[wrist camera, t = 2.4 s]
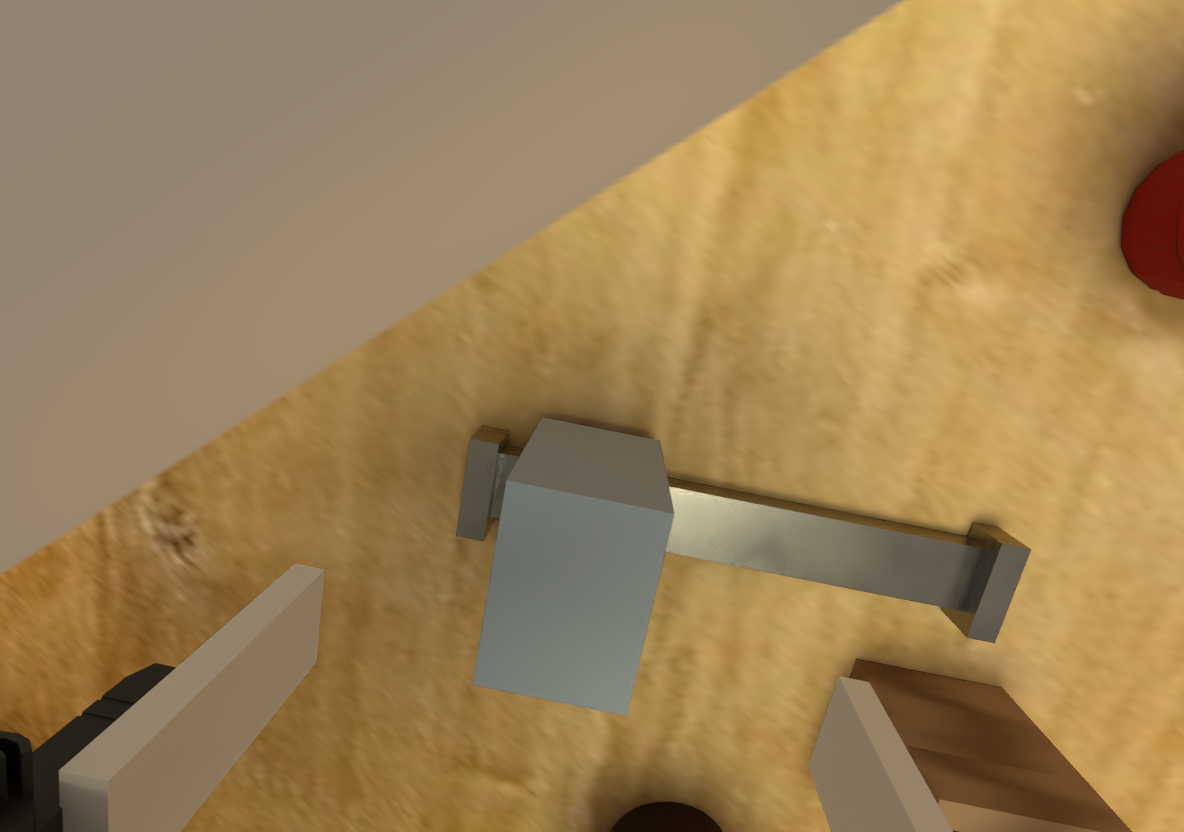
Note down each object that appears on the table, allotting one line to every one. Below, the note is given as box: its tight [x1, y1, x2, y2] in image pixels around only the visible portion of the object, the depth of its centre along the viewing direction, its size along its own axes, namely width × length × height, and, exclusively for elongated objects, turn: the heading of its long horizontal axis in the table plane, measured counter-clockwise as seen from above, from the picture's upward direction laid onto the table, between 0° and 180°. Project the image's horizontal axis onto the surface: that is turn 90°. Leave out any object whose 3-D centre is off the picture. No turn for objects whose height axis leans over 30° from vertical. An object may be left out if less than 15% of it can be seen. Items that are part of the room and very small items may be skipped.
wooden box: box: [850, 659, 1132, 832], centre depth 26 cm, size 7×7×8 cm
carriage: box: [473, 417, 675, 716], centre depth 23 cm, size 5×7×9 cm
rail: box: [456, 426, 1031, 643], centre depth 27 cm, size 23×4×2 cm, turn 79°
